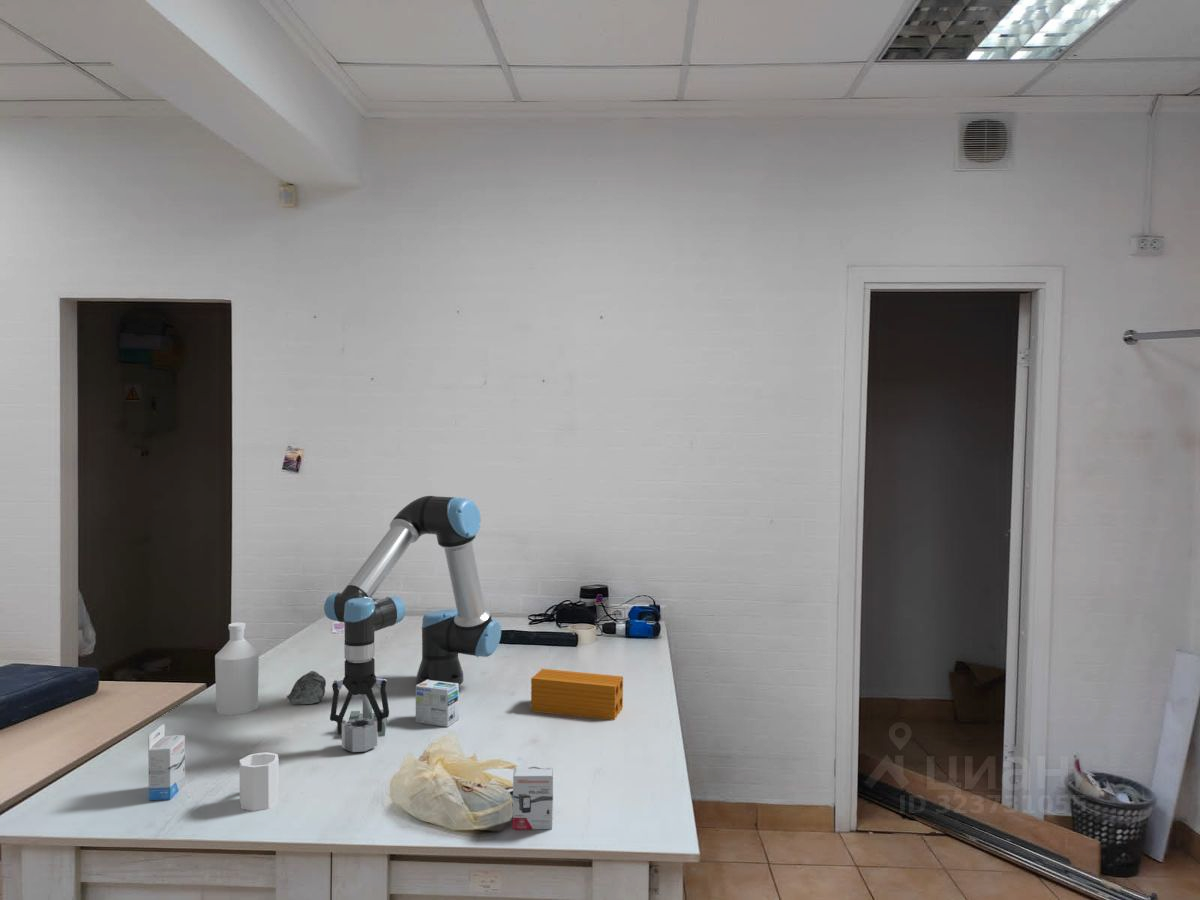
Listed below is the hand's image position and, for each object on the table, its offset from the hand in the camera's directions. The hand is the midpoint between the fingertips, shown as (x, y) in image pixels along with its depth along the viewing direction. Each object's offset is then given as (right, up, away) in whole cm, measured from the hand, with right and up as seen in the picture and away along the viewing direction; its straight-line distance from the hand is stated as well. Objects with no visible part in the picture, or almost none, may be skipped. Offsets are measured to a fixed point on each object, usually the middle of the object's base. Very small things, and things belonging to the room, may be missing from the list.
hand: (360, 744), depth 221 cm
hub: (0, 0, 0) cm, 0 cm away
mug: (-14, -2, -29) cm, 32 cm away
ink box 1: (-37, -2, -27) cm, 45 cm away
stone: (-25, +1, +36) cm, 44 cm away
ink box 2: (+48, -3, -40) cm, 63 cm away
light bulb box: (+16, -1, +20) cm, 26 cm away
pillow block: (-2, 0, +13) cm, 13 cm away
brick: (+56, -1, +31) cm, 64 cm away
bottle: (-44, +1, +29) cm, 53 cm away
